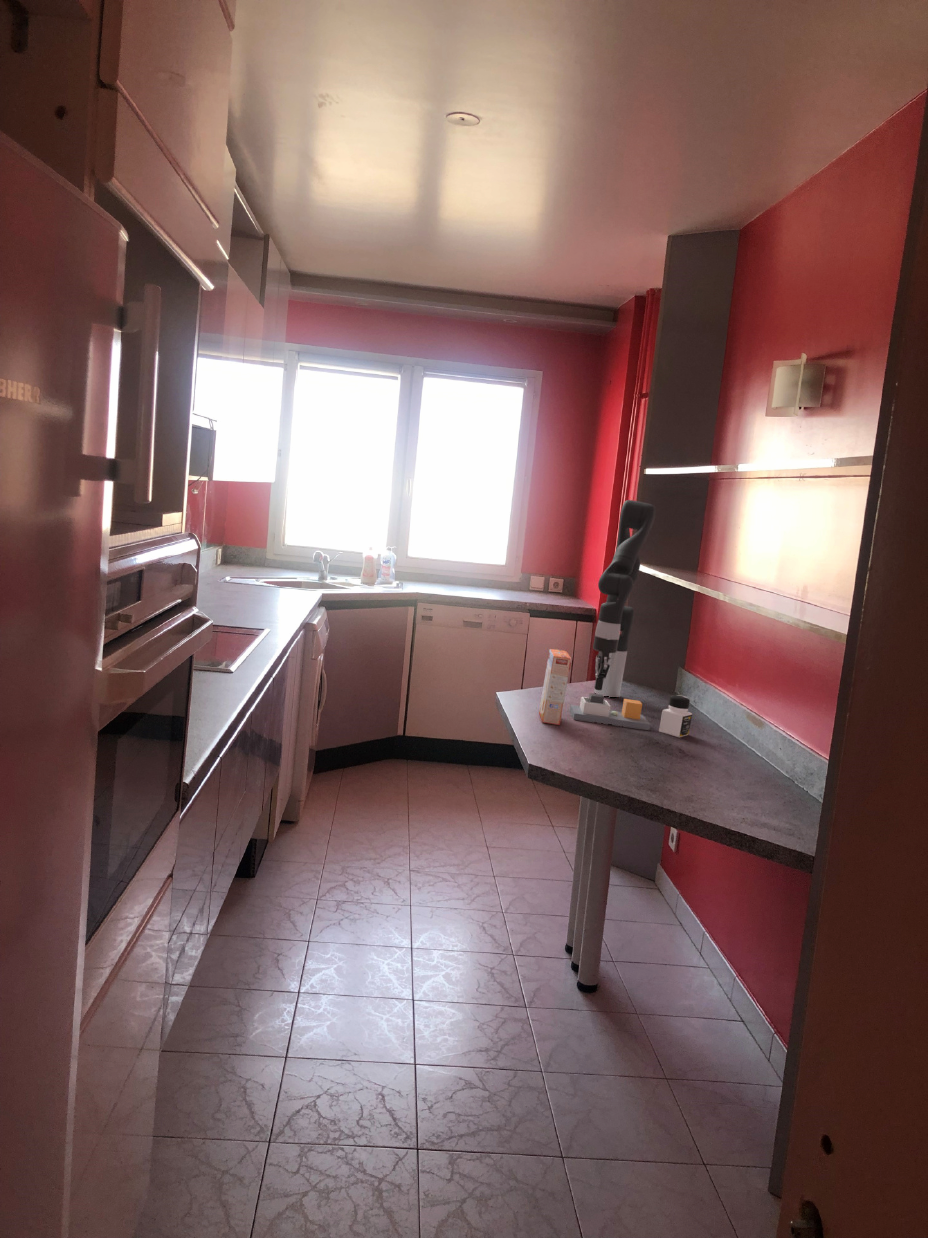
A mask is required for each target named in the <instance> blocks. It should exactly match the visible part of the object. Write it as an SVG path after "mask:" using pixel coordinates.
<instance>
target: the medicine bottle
mask: <svg viewBox="0 0 928 1238" xmlns="http://www.w3.org/2000/svg"><path fill="white" fill-rule="evenodd" d="M690 702H691V701H690V699H689V698H688V697H687V696H684V695H679V694H673V695H670V697H669V702H668V708H664V709H662V712H661V718H660V722H659V729H658V731H659V732H660V733H662V734H665V735H670V736H672V737H676V738H682V737H686V736H688V735H689V734H690V728H691V723H692V718H693V713H692V712H690V711H689V706H690Z"/></svg>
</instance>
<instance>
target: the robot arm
mask: <svg viewBox="0 0 928 1238" xmlns="http://www.w3.org/2000/svg"><path fill="white" fill-rule="evenodd" d="M656 512H657V511H656V507H655V505H653V504H651V503H648V502H642V501H637V500H633V499H627V500H625V501H624V502H623V504H622V507H621V510H620V516H619V525H618V535H617V541H616V548H615V552H614V554H613V557H612V561H611V563H610V564H609V565H608V566H607V568H606V569H605V570H604V571H603V573H602V574H601V575H600V577H599V580H598V583H597V586H598V590H599V591H600V593H601V594H603V595H607V597H606V601H605V602H603V603H601V605H600V609H599V614H598V620H597V624H596V627H595V633H594V639H593V644H592V649H593V650H594V651H597V652H598V654H597V655H596V657H595V670H594V674H595V682H594V686H593V687H594V690H593V691H594V692H595V693H598V694H600V695H605V696H609V697H608V698H610V697H619V698H620V695H621V689H622V685H623V684H622V683H623V678H624V673H625V667H626V660H627V656H628V650H629V649H628V648H629V644H630V637H631V632H632V628H633V624H634V619H635V609H634V608H633V607H632V606H627V605H626V603H627V601H628V598H629V596H630V595H631V592H632V590H633V587H634V584H635V583H636V581H637V580H638V579H639V578H638V577H639V573H640V567H641V558H640V556H639V553H640V550H641V549H642V547H643V545H644V544H645V542H646V540H647V537H648V535H649V534H650V531H651V530H652V527H653V525H654V521H655V519H656ZM630 529H631V530H632V529H633V530H635V531H636V530H637V531H636V532H635V533H634V534H633V535H632V536H631V533H630ZM595 693H594V694H595Z"/></svg>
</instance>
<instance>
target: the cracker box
mask: <svg viewBox="0 0 928 1238" xmlns="http://www.w3.org/2000/svg"><path fill="white" fill-rule="evenodd" d="M571 664H572V658H571V656H570V654H569V652H568V651H566V650H562V649H556V648H555V649H554V648H549V651H548V656H547V663H546V668H545V674H544V679H543V680H544V681H543V686H542V693H541V697H540V703H539V709H538V713H539V716H540V721H541V723H543V724H549V725H555V726H560V725H561V721H562V720H561V719H562V714H563V709H564V704H565V697H566V692H567V687H568V680H569V675H570V670H571Z"/></svg>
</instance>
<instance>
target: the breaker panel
mask: <svg viewBox="0 0 928 1238" xmlns="http://www.w3.org/2000/svg"><path fill="white" fill-rule="evenodd" d="M568 711H569V713H570V716H571V717H572V720H574V719H575V721H581V722H588V723H594V722H597V723H596V724H601V723H603V724H602V725H608V724H612V725H611V726H614V727H622V726H623V728H629V729H630V728H631V729H637V730H643V731H650V728H651V723H650V722H649V721H648V719H647V718H646V717H645V716H644V715H643V714H641V715H640V720H639V719H632V718H625V717H623V715H622V714H621V713H622V711H616V710H611V705H610V703H609V702H608V701H607V700H605V699H604V700H603V704H601V703H595V702H590V700H589V697H586V696H581V697H580V704H579V705H575V704H570V705H569V709H568Z"/></svg>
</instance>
